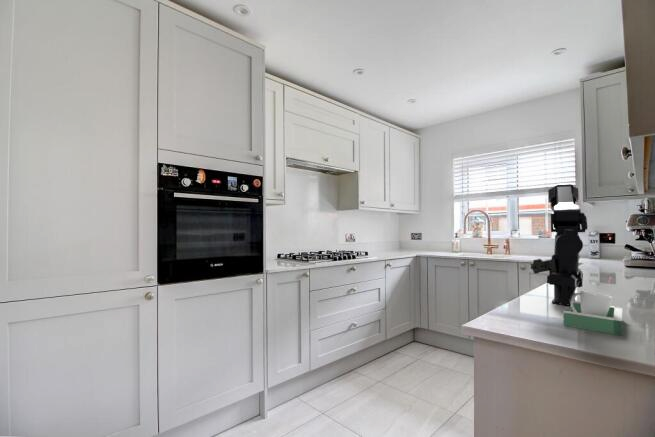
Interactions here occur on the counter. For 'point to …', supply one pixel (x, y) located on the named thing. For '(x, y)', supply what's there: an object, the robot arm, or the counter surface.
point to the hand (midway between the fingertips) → (564, 305)
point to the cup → (593, 303)
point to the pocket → (595, 320)
